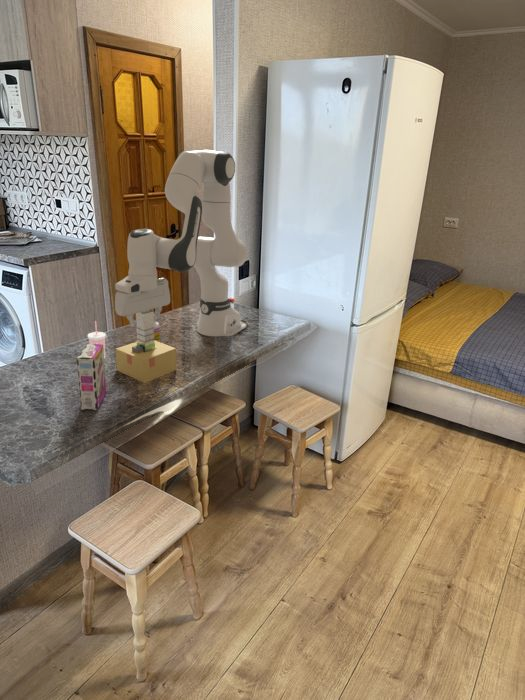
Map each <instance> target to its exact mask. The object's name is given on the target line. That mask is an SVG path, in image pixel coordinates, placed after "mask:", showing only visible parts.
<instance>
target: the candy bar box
mask: <svg viewBox="0 0 525 700" xmlns="http://www.w3.org/2000/svg"><path fill="white" fill-rule="evenodd" d="M76 363H77V374H78V387H79V398H80V410H81V411H99V409H100V406H101V404H102V402H103V401H104V398H105V396H106V394H107V385H106V371H105V359H104V349H103V345H102V344H89V343H87V344H86V345H85V347H84V348H83V349H82V350H81V352H80V353H79V355H78V356H77V357H76Z"/></svg>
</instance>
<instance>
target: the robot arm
mask: <svg viewBox="0 0 525 700" xmlns="http://www.w3.org/2000/svg"><path fill="white" fill-rule="evenodd" d="M235 174H236V162H235V159H234V158H233V156H232V155H231V153H229V152H226V151H223V150H222V151H217V150H214V149H213V150H211V149H203V150H201V149H200V150H199V149H198V150H192V149H188V150H184V151H182V152H180V153H179V155H178V156H177V157H176V160H175V162H174V164H173V165H172V167H171V169H170V171H169V174H168V176H167V180H166V183H165V186H164V194H165V197H166V199H167V201H168V202H169V203H170V205H171V206H172V207H174V208H175V209H177V210H178V211H179V212H181V213H183V214H184V222H183V226H182V233H181V236H180V237H179V238H177V239H173V238H166V237H161V236H159V235H157V234H155V233H154V231H153V230H152V229H149V228H139V229H134V230H131V231H130V233H129V234H128V237H127V247H126V249H127V251H126V252H127V261H128V264H129V266H128V267H129V269H128V272H127V273H128V275H127V276H126V277H124V278H123V279H121V280H120V281H118V282H116V283H115V285H114V287H115V290H116V293H115V297H114V310H115V313H116V314H117V315H118V316H121V317H126V318H127V320H128V321H129V327H131V328H135V327H136V326H137V321H136V319H135V318H134V317H135V315H136V313H139V312H143V311H147V310H150V311H152V310H154V312H153V315H154V320H156V321H158V320H160V315H161V312H162V310H163V307H164V306H168V305H170V304H171V293H170V287H169V280H168V279H167V278H165V277H160V278H158V270H157V268H160V269H166V270H167V269H168V270H171V271H175V272H179V273H181V274H183V273H186V272H188V271H189V270H191V269H192V268H193V267H194V269H195V270H196V272H197V274H198V277H199V281H200V298H199V307H200V309H199V312H198V313H199V314H198V315H199V316H198V321H197V324H196V327H197V329H196V332H197V333H199V334H200V335H203V336H206V337H232V336H234V335H236V334H238V333H239V332H241V331H242V330H244V329H246V328H247V324H246V323H245V322H242V317H241V313H240V312H239V311H237V310H236V309H235V308H234V307H232V305H231V304H234V303H235V302H236V299H235V298H232V297H229V281H228V279H227V278H226V276H224V275H223V274H221V273H220V272H219V271H218V270H217V267H224V268H237V267H241V266H243V265H244V263H246V261H247V257H248V249H247V246H246V245H245V243H244V242H243V241H242V240H241V239H240V238H239V237H238V236H237V235H236V233H235V230H234V228H233V225H232V216H231V214H232V213H231V195H232V194H231V185H230V184H231V183H230V182H231V181H232V180H233V178H234V176H235ZM201 186H202V191H201V198H200V197H199V192H200V190H201ZM201 221H202V223H203V225H205V226H206V228H209V229H210V230H211V231H212V232H213V233H214V236H215V237H214V236H213V237H212V236H203V235H202V236H201V235H200V236H199V233H200V228H201Z"/></svg>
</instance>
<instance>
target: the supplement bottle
mask: <svg viewBox="0 0 525 700" xmlns="http://www.w3.org/2000/svg"><path fill="white" fill-rule="evenodd" d="M160 335H161V334H160V323H159V322H158V321H157V320H154V340H155V341H158V342H160V343H161V341H160V340H161V338H160V337H161V336H160Z"/></svg>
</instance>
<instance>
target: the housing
mask: <svg viewBox="0 0 525 700" xmlns="http://www.w3.org/2000/svg"><path fill="white" fill-rule="evenodd" d="M154 343H155V349H154V350H151V351H148V352H143V348H142V347H140V346H137V341H135V342H132V343H129V344H126V345H123V346H120V347H116V348H115V357H116V358H115V359H116V360H115V361H116V370H117V372H120V373H122V374H124V375H126V376H129V377H130V378H132V379H135V380H137V381H139V382H142V383H143V384H145V383H148V382H150V381H153V380H156V379H158V378H161V377H162V376H165V375H167V374H170V373H171V372H174V371H177V348H176V347H173V346H171V345H168V344H165V343H163V342H161V341H160V342H158V341H155V340H154Z"/></svg>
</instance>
